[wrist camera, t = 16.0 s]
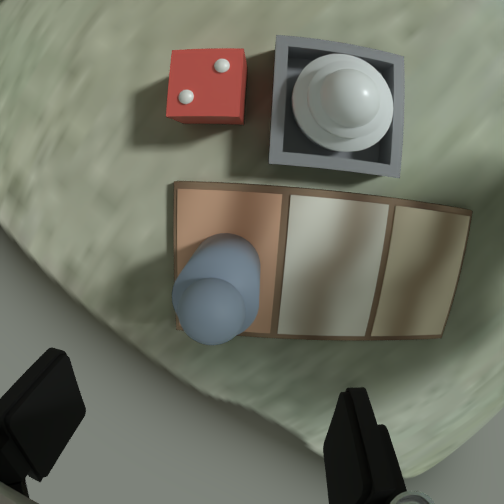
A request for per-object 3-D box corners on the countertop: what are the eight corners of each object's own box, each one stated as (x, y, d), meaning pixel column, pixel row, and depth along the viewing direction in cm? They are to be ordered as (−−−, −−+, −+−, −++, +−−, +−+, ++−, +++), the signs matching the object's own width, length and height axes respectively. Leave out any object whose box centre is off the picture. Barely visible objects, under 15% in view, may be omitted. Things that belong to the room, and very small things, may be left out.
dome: (384, 70, 18) (411, 52, 13) (380, 157, 20) (409, 159, 15) (293, 56, 18) (300, 31, 14) (288, 146, 20) (295, 143, 15)
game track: (467, 209, 22) (473, 211, 21) (437, 334, 26) (441, 338, 25) (177, 180, 23) (173, 181, 22) (178, 325, 26) (176, 330, 25)
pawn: (263, 236, 23) (263, 286, 14) (256, 300, 24) (252, 373, 16) (194, 229, 23) (154, 274, 14) (192, 292, 24) (158, 361, 16)
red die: (247, 68, 20) (243, 48, 16) (243, 124, 21) (238, 116, 17) (188, 68, 20) (171, 49, 16) (183, 123, 22) (165, 116, 17)
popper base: (388, 66, 19) (403, 56, 17) (384, 175, 22) (399, 178, 19) (274, 49, 20) (276, 34, 17) (268, 163, 22) (268, 163, 19)
